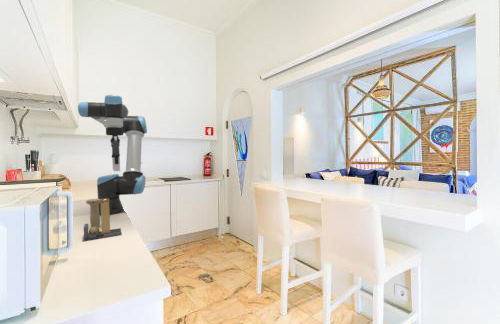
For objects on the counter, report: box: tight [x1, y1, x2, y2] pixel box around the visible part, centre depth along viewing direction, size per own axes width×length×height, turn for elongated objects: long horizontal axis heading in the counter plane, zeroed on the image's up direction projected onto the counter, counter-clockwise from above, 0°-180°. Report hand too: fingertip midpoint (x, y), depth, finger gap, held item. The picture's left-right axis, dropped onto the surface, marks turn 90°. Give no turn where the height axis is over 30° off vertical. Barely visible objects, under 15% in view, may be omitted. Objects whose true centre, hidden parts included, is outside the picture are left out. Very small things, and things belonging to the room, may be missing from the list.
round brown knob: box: [88, 227, 100, 235], centre depth 107 cm, size 4×4×4 cm
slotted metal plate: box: [81, 223, 123, 242], centre depth 109 cm, size 11×14×6 cm
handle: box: [85, 198, 101, 229], centre depth 118 cm, size 5×6×15 cm
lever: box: [100, 198, 111, 235], centre depth 109 cm, size 4×4×15 cm
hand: (116, 170), depth 122 cm, fingers open, 13 cm apart
